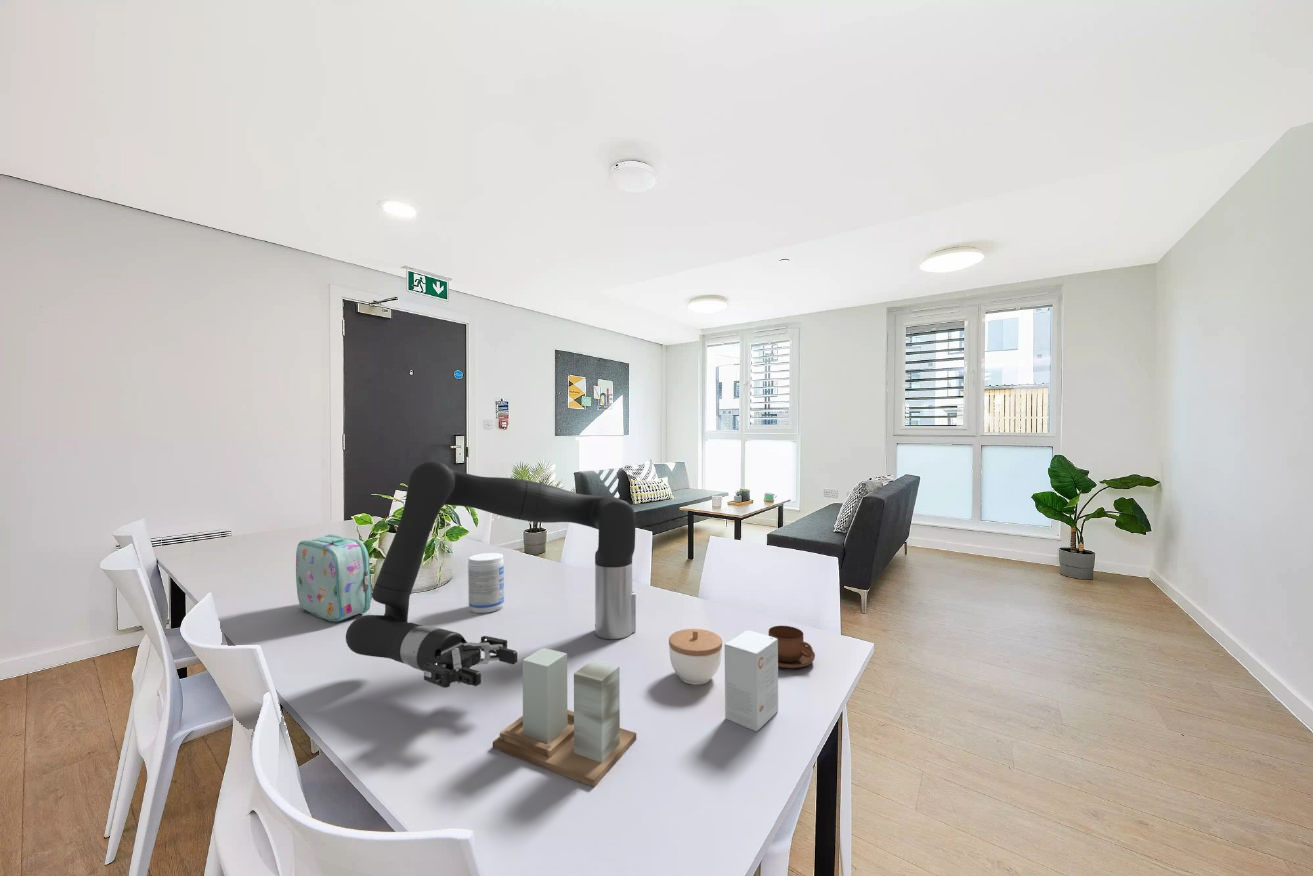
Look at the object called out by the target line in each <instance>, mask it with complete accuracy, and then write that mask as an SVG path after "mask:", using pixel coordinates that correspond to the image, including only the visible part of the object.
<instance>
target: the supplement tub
mask: <svg viewBox="0 0 1313 876" xmlns="http://www.w3.org/2000/svg"><path fill="white" fill-rule="evenodd" d="M504 563H505V562H504V555H503V554H502V553H498V552H484V553H478V554H474V555H471V556H469V557H468V563H467V564H468V565H467V570H468V571H467V572H468V573H467V574H468V575H467V576H468V577H467V578H468V579H467V580H468V581H467V582H468V584H467V585H468V609H469V611H470V612H473V613H476V614H486V613H492V612H495V611H496V612H497V611H498V610H501V609H502V608H503V607H504V605H505V570H504V569H505V566H504V565H505V564H504Z"/></svg>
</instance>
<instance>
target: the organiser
mask: <svg viewBox="0 0 1313 876" xmlns="http://www.w3.org/2000/svg"><path fill="white" fill-rule="evenodd" d="M620 668H621V667H620V666H619V665H615V664H611V663H607V662H604V661H599V660H595V659H592V660H590V661H589V662H588V663H586V664H584V665H583V666H582V667H581V668H579V669H577V670H576V671H575V672H574V673H573V711H572V710H569V709H567V718H568V727H566V728H565V729H564V730H563V731H562V732H561V733H559V734H558V735H557V736H556V737H555V738H554V739H553V740H551V741H550V742H549V743H548V744H547V743H545V742H542V741H539V740H536V739H533V738H530V737H528V736H525V735H523V715H521V716H520V717H519V718H518V719H516V720H515V721H513V723H511V724H509V725H508V726H506V728H504V729H503V730H502V731H500V732H499V736H498V737H497V738H496V739H494V740H493V741H492V749H494V750H496V751H498V752H499V751H500V752H501V753H504V754H507V755H509V756H512V757H513V758H514V757H515V758H516V759H520V760H521V761H525V762H527V763H530V764H533V765H535V766H538V767H541V768H543V769H546V770H548V771H551V772H553V773H556V774H559V775H561V776H564V777H567V778H569V779H572V780H574V781H577V782H580V783H582V784H584V785H587V786H589V787H592V788H595V787H596V786H597V785H598V784H599V783H600V781H602V779H603V778H604V777H605V776H606V775H607V773H609V771H610V770H611V769H612V768H613V767H614V765H616V763H617V762H618V761H619V760H620V759H621V758H622V756H623V755H624V754H625V753H626V752H627V751H628V750H629V749H630V747H631V746H632V745H633V744H634V743H635V741H636V740H637V732H634V731H631V730H627V729H624V728H621V725H620V724H621V723H620V722H621V719H620V717H621V716H620V714H621V712H620V711H621V709H620V708H621V707H620V705H621V704H620V699H621V698H620V697H621V695H620V694H621V693H620V691H621V690H620V689H621V687H620V685H621V683H620V682H621V681H620V679H621V678H620V674H621V673H620V672H621V671H620Z"/></svg>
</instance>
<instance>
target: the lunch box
mask: <svg viewBox="0 0 1313 876" xmlns="http://www.w3.org/2000/svg"><path fill="white" fill-rule="evenodd" d="M370 570H371V569H370V556H369V552H368V549H367V547H366V546H365V544H364V543H363V542H361V540H358V539H355V538H354V539H353V538H346V537H342V536H340V535H339V534H338V535H337V534H332V533H331V534H327V535H324V536H320V537H316V538H311V539H307V540H301V541H299V542H298V543H297V547H296V554H295V578H296V579H295V581H296V591H297V593H296V595H297V600H298V603H299V606H300V608H301V609H303V610H304V611H306V612H308V613H311V614H312V615H314V616H315V617H316V618H321V619H324V620H327V621H330V622H334V623H335V622H340V621H343V620H346V619H348V618H351V617H353V616H356V615H359V614H365V613H367V612H368V611H369V610H370V607H371V603H372V602H371V601H372V600H373V598H372V592H373V589H372V584H371V574H370V573H371V572H370Z"/></svg>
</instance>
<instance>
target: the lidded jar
mask: <svg viewBox="0 0 1313 876" xmlns="http://www.w3.org/2000/svg"><path fill="white" fill-rule="evenodd" d="M668 645H669V646H668V648H669V649H668V650H669V659H670V663H671V667H672V668H673V670H674V672H675V673H676V675H677V676H678V677H679V678H680V680H681V681H682V682H684V683H685V684H687V685H694V686H695V685H696V686H699V685H704V684H707V683H709V682H710V681H711V679H712V678H713V677H714V676H715V675H716V673H717V672H718V670H719V668H720V664H721V661H722V647H723V639H722V637H721V636H720V635H719V634H717V633H715V632H714V631H710V630H707V629H701V628H686V629H680V630H677V631H675V632H673V633H671V635H670V636H669V637H668Z"/></svg>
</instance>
